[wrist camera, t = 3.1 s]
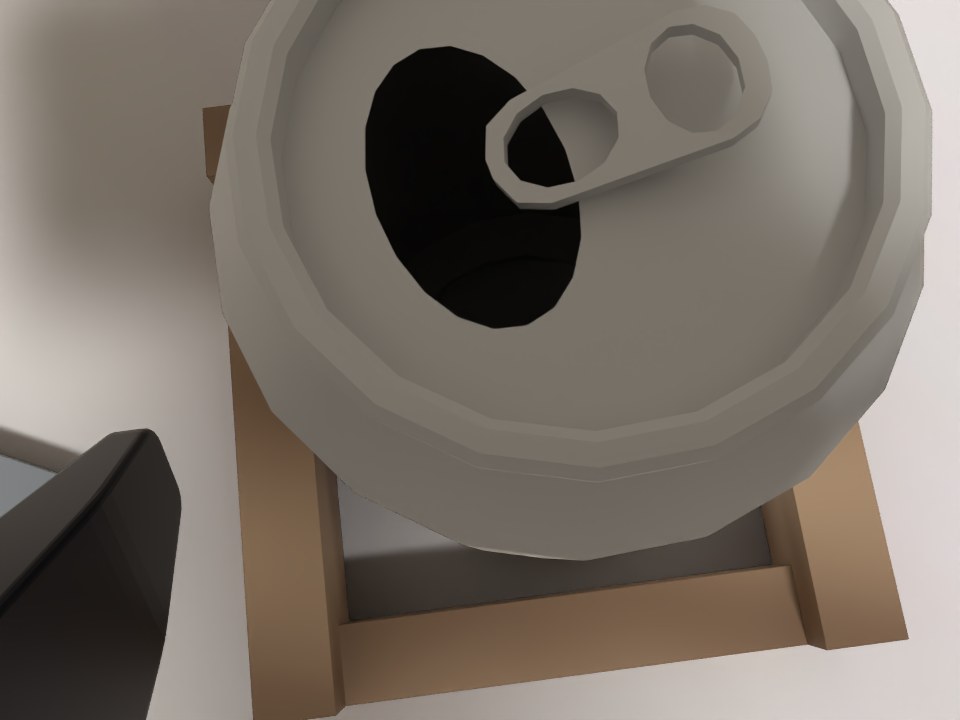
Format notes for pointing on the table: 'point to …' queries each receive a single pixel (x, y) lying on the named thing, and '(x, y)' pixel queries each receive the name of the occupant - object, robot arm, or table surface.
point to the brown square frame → (538, 619)
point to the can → (573, 252)
